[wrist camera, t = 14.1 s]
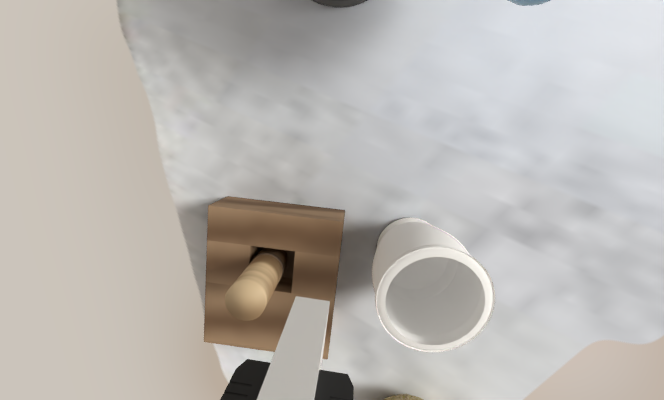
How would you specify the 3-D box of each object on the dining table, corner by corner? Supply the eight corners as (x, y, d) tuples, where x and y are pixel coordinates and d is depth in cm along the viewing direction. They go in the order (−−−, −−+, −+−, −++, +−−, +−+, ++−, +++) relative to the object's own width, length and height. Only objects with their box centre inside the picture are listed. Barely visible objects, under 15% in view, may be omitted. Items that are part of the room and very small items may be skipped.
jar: (434, 197, 43) (475, 230, 28) (459, 268, 44) (510, 334, 30) (357, 225, 44) (358, 270, 29) (384, 293, 46) (397, 367, 31)
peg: (260, 240, 43) (225, 279, 32) (291, 244, 43) (267, 285, 31) (258, 269, 44) (223, 318, 32) (288, 273, 44) (264, 323, 32)
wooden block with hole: (227, 196, 45) (208, 205, 39) (345, 210, 44) (343, 221, 38) (222, 316, 48) (203, 341, 42) (330, 331, 47) (327, 359, 41)
